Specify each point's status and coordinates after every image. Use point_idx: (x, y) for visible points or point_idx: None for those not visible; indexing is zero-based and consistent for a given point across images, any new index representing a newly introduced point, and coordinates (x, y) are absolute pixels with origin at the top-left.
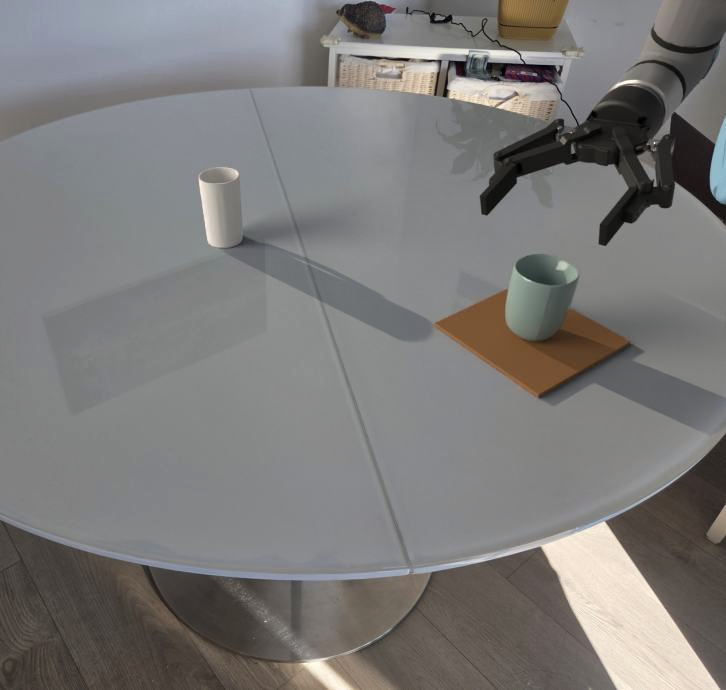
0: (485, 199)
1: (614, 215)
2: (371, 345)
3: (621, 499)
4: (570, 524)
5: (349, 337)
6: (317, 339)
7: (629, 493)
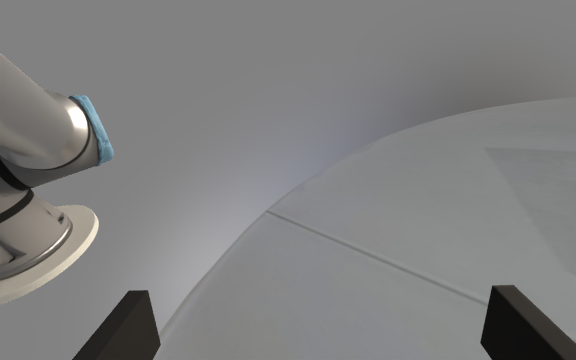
0: (492, 294)
1: (103, 324)
2: None
3: None
4: (192, 290)
5: None
6: None
7: None
